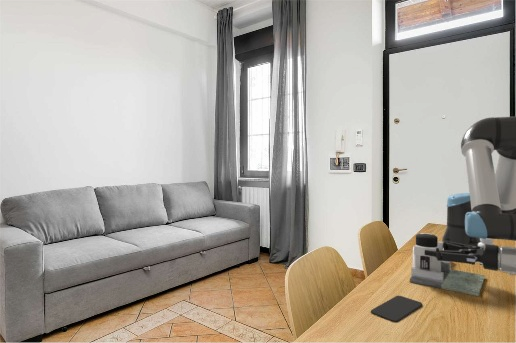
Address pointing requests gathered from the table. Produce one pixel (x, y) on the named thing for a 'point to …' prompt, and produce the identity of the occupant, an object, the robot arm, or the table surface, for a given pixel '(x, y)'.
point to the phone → (396, 308)
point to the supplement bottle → (483, 242)
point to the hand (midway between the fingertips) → (418, 246)
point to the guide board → (449, 279)
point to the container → (426, 261)
